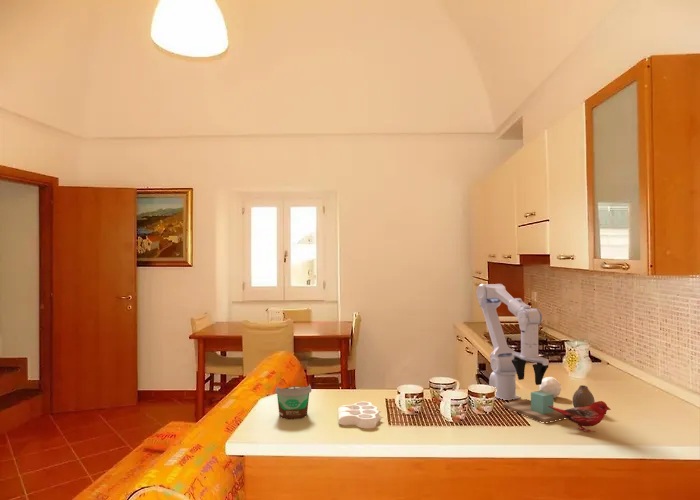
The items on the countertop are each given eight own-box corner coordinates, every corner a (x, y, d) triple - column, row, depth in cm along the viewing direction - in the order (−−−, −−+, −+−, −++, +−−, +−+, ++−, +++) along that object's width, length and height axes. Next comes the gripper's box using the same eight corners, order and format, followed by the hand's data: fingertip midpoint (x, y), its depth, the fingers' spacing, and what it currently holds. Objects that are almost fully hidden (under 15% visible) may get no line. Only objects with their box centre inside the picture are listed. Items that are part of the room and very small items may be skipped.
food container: (277, 422, 158) (277, 391, 158) (274, 416, 164) (274, 386, 164) (314, 418, 161) (314, 388, 161) (311, 412, 167) (311, 383, 167)
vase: (592, 409, 171) (592, 384, 171) (596, 415, 165) (596, 389, 165) (571, 407, 173) (571, 382, 173) (574, 413, 167) (574, 388, 167)
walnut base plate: (502, 408, 172) (502, 394, 172) (526, 403, 178) (526, 389, 178) (544, 423, 157) (544, 408, 157) (569, 417, 162) (569, 402, 162)
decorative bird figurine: (610, 437, 145) (610, 403, 145) (547, 426, 154) (547, 395, 154) (611, 434, 148) (611, 401, 148) (548, 424, 156) (548, 392, 156)
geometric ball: (554, 404, 186) (568, 388, 185) (547, 400, 181) (561, 384, 180) (539, 390, 192) (552, 374, 191) (531, 386, 186) (545, 370, 185)
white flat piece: (337, 411, 170) (379, 410, 171) (338, 430, 152) (385, 429, 153) (337, 401, 170) (379, 401, 171) (338, 419, 152) (385, 418, 153)
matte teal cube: (530, 410, 166) (530, 392, 166) (541, 407, 168) (541, 390, 168) (543, 414, 161) (543, 396, 161) (553, 411, 164) (553, 394, 164)
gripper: (505, 340, 176) (505, 378, 176) (538, 347, 164) (538, 388, 164) (519, 339, 180) (519, 376, 180) (552, 345, 167) (552, 385, 167)
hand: (529, 381), depth 172 cm, fingers open, 7 cm apart
